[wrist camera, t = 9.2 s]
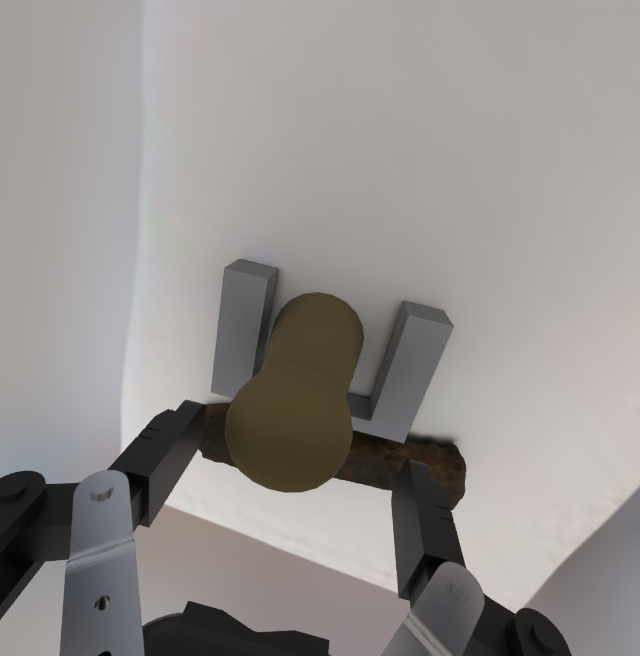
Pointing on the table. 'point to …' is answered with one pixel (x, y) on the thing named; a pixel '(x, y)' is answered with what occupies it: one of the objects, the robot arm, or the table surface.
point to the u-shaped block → (367, 414)
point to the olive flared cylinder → (298, 398)
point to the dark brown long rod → (361, 457)
